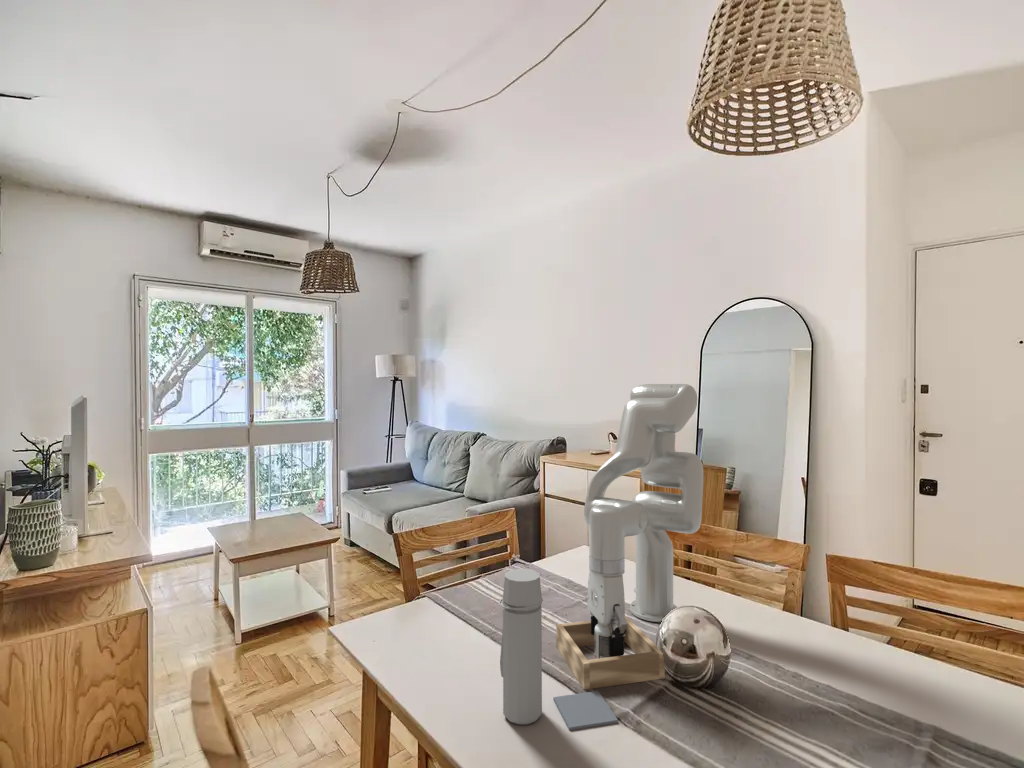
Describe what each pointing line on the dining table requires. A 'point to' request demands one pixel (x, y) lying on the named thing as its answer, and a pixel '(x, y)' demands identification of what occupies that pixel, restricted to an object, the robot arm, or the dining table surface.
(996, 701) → the dining table surface
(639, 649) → the oak crate
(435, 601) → the dining table surface
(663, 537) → the robot arm
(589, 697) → the rubber mat
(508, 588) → the water bottle
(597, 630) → the pill bottle
